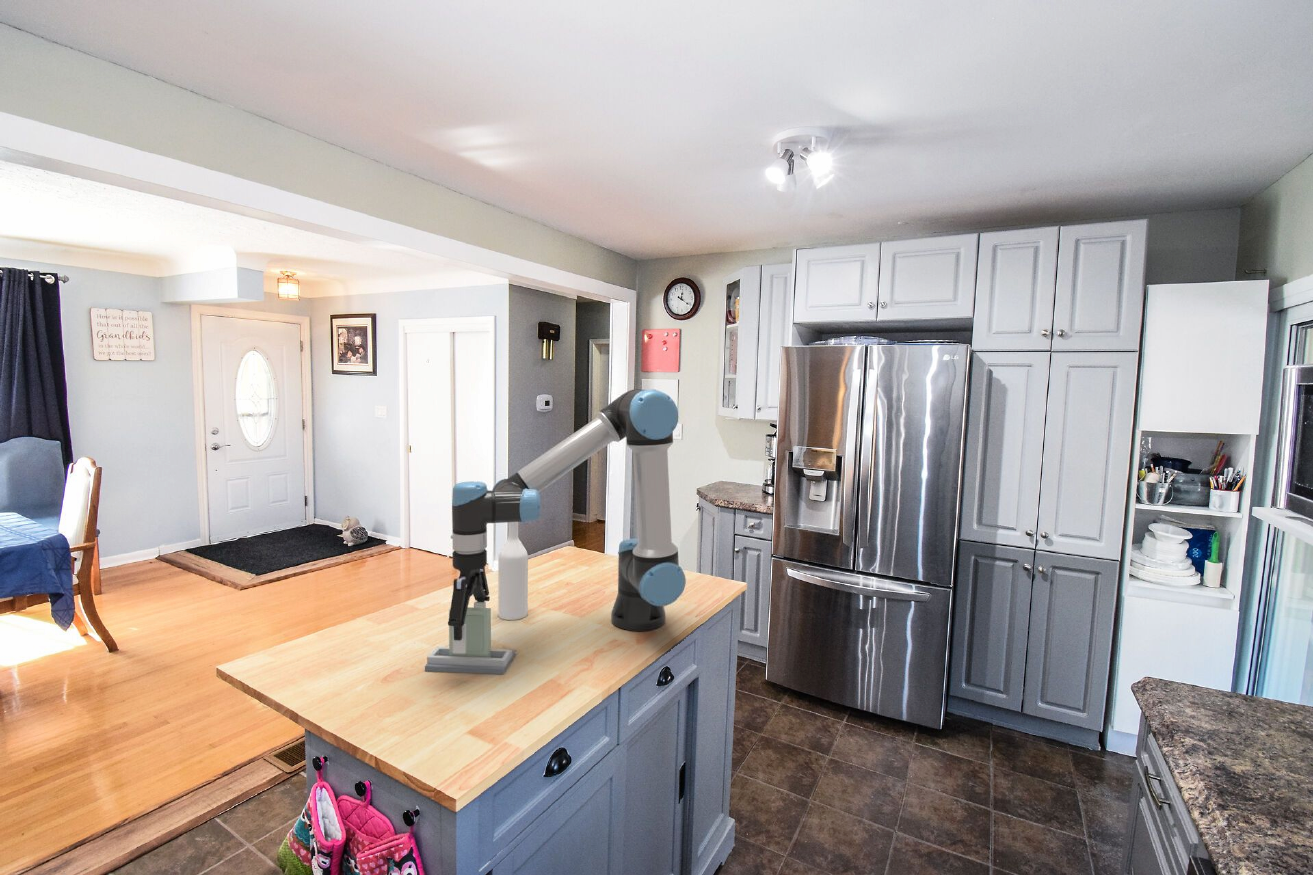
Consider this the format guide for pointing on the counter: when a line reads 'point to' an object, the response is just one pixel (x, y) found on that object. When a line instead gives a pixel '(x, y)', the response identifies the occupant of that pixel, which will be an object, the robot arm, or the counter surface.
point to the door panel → (475, 633)
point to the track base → (469, 662)
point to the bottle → (513, 577)
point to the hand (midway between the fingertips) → (470, 640)
